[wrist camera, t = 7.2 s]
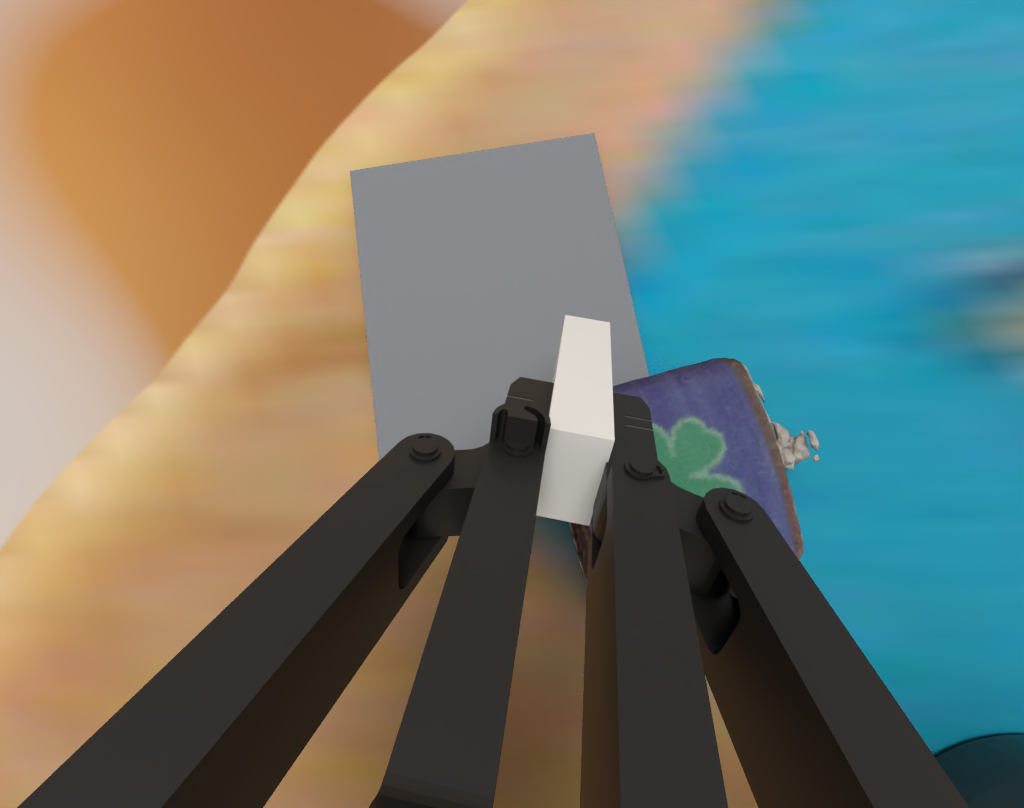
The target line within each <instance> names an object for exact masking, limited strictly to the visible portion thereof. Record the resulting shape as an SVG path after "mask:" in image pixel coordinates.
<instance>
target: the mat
mask: <svg viewBox="0 0 1024 808" xmlns="http://www.w3.org/2000/svg"><path fill="white" fill-rule="evenodd" d="M350 176H351V186H352V196H353V205H354V215H355V225H356V235H357V245H358V255H359V265H360V275H361V284H362V294H363V304H364V314H365V324H366V334H367V344H368V354H369V363H370V373H371V383H372V393H373V403H374V413H375V423H376V433H377V442H378V452H379V461H380V460H381V459H382V458H383V457H384V456H385V455H386V454H387V453H388V452H389V451H390V450H391V449H392V448H393V447H394V446H395V445H396V444H397V443H399V442H400V441H401V440H403V439H404V438H406V437H407V436H410V435H414V434H417V433H432V434H436V435H440V436H442V437H444V438H446V439H448V440H449V441H450V442H451V443H452V445H453V446H454V450H467V449H475V448H478V447H482V446H484V445H486V444H487V443H489V440H490V431H491V423H492V414H493V412H494V411H495V409H496V408H497V407H499V406H500V405H502V404H504V403H505V401H506V398H507V394H508V391H509V388H510V385H511V384H512V383H513V382H514V381H516V380H517V379H518V378H519V377H524V378H530V379H535V380H541V381H546V382H553V377H554V371H555V366H556V361H557V356H558V350H559V345H560V340H561V335H562V330H563V324H564V319H565V315H569V316H575V317H581V318H587V319H593V320H599V321H604V322H610V336H611V361H612V386H616V385H619V384H622V383H625V382H629V381H632V380H635V379H640V378H644V377H649V373H648V369H647V364H646V360H645V355H644V351H643V347H642V342H641V338H640V333H639V329H638V324H637V320H636V316H635V311H634V307H633V302H632V298H631V293H630V289H629V285H628V280H627V276H626V271H625V267H624V262H623V258H622V254H621V249H620V245H619V240H618V236H617V232H616V227H615V223H614V218H613V214H612V209H611V205H610V201H609V196H608V192H607V187H606V183H605V178H604V174H603V170H602V165H601V161H600V156H599V152H598V147H597V143H596V139H595V134H594V133H591V134H585V135H579V136H572V137H566V138H559V139H553V140H546V141H540V142H534V143H527V144H521V145H514V146H508V147H501V148H495V149H489V150H482V151H476V152H469V153H463V154H456V155H450V156H444V157H437V158H431V159H424V160H418V161H411V162H405V163H399V164H392V165H386V166H379V167H373V168H367V169H360V170H354V171H350Z"/></svg>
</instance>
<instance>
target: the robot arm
mask: <svg viewBox="0 0 1024 808" xmlns="http://www.w3.org/2000/svg"><path fill="white" fill-rule="evenodd" d="M651 420H652V419H651V413H650V408H649V407H648V406H647V404H646V403H645V402H644V400H643V399H642V398H641V397H636V396H631V395H625V394H620V393H614V392H613V386H612V361H611V336H610V322H604V321H599V320H593V319H587V318H581V317H575V316H569V315H565V319H564V324H563V330H562V335H561V340H560V345H559V350H558V356H557V361H556V366H555V371H554V377H553V382H546V381H541V380H535V379H530V378H524V377H519V378H518V379H517V380H516V381H514V382H513V383H512V384H511V385H510V388H509V391H508V394H507V398H506V401H505V403H504V404H502V405H500V406H499V407H497V408H496V409H495V411H494V412H493V414H492V423H491V431H490V440H489V443H487V444H486V445H484V446H482V447H478V448H475V449H467V450H454V446H453V445H452V443H451V442H450V441H449V440H448V439H446V438H444V437H442V436H440V435H436V434H432V433H417V434H414V435H410V436H407V437H406V438H404V439H403V440H401V441H400V442H399V443H397V444H396V445H395V446H394V447H393V448H392V449H391V450H390V451H389V452H388V453H387V454H386V455H385V456H384V457H383V458H382V459H381V460H380V461H379V462H378V463H377V464H376V465H375V466H373V467H372V468H371V469H370V470H369V471H368V472H367V473H366V474H365V475H364V476H363V477H362V478H361V479H360V480H359V481H358V482H357V483H356V484H355V485H354V486H353V487H352V488H350V489H349V490H348V491H347V492H346V493H345V494H344V495H343V496H342V497H341V498H340V499H339V500H338V501H337V502H336V503H335V504H334V505H333V506H332V507H331V508H330V509H329V510H328V511H326V512H325V513H324V514H323V515H322V516H321V517H320V518H319V519H318V520H317V521H316V522H315V523H314V524H313V525H312V526H311V527H310V528H309V529H308V530H307V531H306V532H305V533H304V534H302V535H301V536H300V537H299V538H298V539H297V540H296V541H295V542H294V543H293V544H292V545H291V546H290V547H289V548H288V549H287V550H286V551H285V552H284V553H283V554H282V555H281V556H279V557H278V558H277V559H276V560H275V561H274V562H273V563H272V564H271V565H270V566H269V567H268V568H267V569H266V570H265V571H264V572H263V573H262V574H261V575H260V576H259V577H258V578H257V579H255V580H254V581H253V582H252V583H251V584H250V585H249V586H248V587H247V588H246V589H245V590H244V591H243V592H242V593H241V594H240V595H239V596H238V597H237V598H236V599H235V600H234V601H232V602H231V603H230V604H229V605H228V606H227V607H226V608H225V609H224V610H223V611H222V612H221V613H220V614H219V615H218V616H217V617H216V618H215V619H214V620H213V621H212V622H211V623H210V624H208V625H207V626H206V627H205V628H204V629H203V630H202V631H201V632H200V633H199V634H198V635H197V636H196V637H195V638H194V639H193V640H192V641H191V642H190V643H189V644H188V645H187V646H186V647H184V648H183V649H182V650H181V651H180V652H179V653H178V654H177V655H176V656H175V657H174V658H173V659H172V660H171V661H170V662H169V663H168V664H167V665H166V666H165V667H164V668H163V669H161V670H160V671H159V672H158V673H157V674H156V675H155V676H154V677H153V678H152V679H151V680H150V681H149V682H148V683H147V684H146V685H145V686H144V687H143V688H142V689H141V690H140V691H139V692H137V693H136V694H135V695H134V696H133V697H132V698H131V699H130V700H129V701H128V702H127V703H126V704H125V705H124V706H123V707H122V708H121V709H120V710H119V711H118V712H117V713H116V714H115V715H113V716H112V717H111V718H110V719H109V720H108V721H107V722H106V723H105V724H104V725H103V726H102V727H101V728H100V729H99V730H98V731H97V732H96V733H95V734H94V735H93V736H92V737H90V738H89V739H88V740H87V741H86V742H85V743H84V744H83V745H82V746H81V747H80V748H79V749H78V750H77V751H76V752H75V753H74V754H73V755H72V756H71V757H70V758H69V759H68V760H66V761H65V762H64V763H63V764H62V765H61V766H60V767H59V768H58V769H57V770H56V771H55V772H54V773H53V774H52V775H51V776H50V777H49V778H48V779H47V780H46V781H45V782H44V783H42V784H41V785H40V786H39V787H38V788H37V789H36V790H35V791H34V792H33V793H32V794H31V795H30V796H29V797H28V798H27V799H26V800H25V801H24V802H23V803H22V804H21V805H19V806H18V807H17V808H263V807H264V805H265V804H266V802H267V801H268V799H269V798H270V797H271V795H272V794H273V792H274V791H275V789H276V788H277V786H278V785H279V783H280V782H281V781H282V779H283V778H284V776H285V775H286V773H287V772H288V770H289V769H290V768H291V766H292V765H293V763H294V762H295V760H296V759H297V757H298V756H299V755H300V753H301V752H302V750H303V749H304V747H305V746H306V744H307V743H308V742H309V740H310V739H311V737H312V736H313V734H314V733H315V731H316V730H317V728H318V727H319V726H320V724H321V723H322V721H323V720H324V718H325V717H326V715H327V714H328V713H329V711H330V710H331V708H332V707H333V705H334V704H335V702H336V701H337V700H338V698H339V697H340V695H341V694H342V692H343V691H344V689H345V688H346V687H347V685H348V684H349V682H350V681H351V679H352V678H353V676H354V675H355V674H356V672H357V671H358V669H359V668H360V666H361V665H362V663H363V662H364V660H365V659H366V658H367V656H368V655H369V653H370V652H371V650H372V649H373V647H374V646H375V645H376V643H377V642H378V640H379V639H380V637H381V636H382V634H383V633H384V632H385V630H386V629H387V627H388V626H389V624H390V623H391V621H392V620H393V619H394V617H395V616H396V614H397V613H398V611H399V610H400V608H401V607H402V606H403V604H404V603H405V601H406V600H407V598H408V597H409V595H410V594H411V592H412V591H413V590H414V588H415V587H416V585H417V584H418V582H419V581H420V579H421V578H422V577H423V575H424V574H425V572H426V571H427V569H428V568H429V566H430V565H431V564H432V562H433V561H434V559H435V558H436V556H437V555H438V553H439V552H440V551H441V549H442V548H443V546H444V545H445V543H446V542H447V539H448V537H449V536H459V535H460V537H459V540H458V543H457V547H456V550H455V553H454V556H453V559H452V563H451V566H450V569H449V572H448V575H447V579H446V582H445V585H444V588H443V591H442V595H441V598H440V601H439V604H438V607H437V611H436V614H435V617H434V620H433V623H432V627H431V630H430V633H429V636H428V639H427V642H426V646H425V649H424V652H423V655H422V658H421V662H420V665H419V668H418V671H417V674H416V678H415V681H414V684H413V687H412V690H411V694H410V697H409V700H408V703H407V706H406V710H405V713H404V716H403V719H402V722H401V726H400V729H399V732H398V735H397V738H396V741H395V745H394V748H393V751H392V754H391V757H390V761H389V764H388V767H387V770H386V773H385V776H384V779H383V782H382V785H381V787H380V790H379V792H378V794H377V796H376V797H375V799H374V800H373V802H372V803H371V805H370V806H369V808H493V802H494V795H495V788H496V782H497V775H498V768H499V761H500V755H501V748H502V741H503V735H504V728H505V721H506V714H507V708H508V701H509V694H510V687H511V681H512V674H513V667H514V660H515V654H516V647H517V640H518V634H519V627H520V620H521V613H522V607H523V600H524V593H525V586H526V580H527V573H528V566H529V559H530V553H531V546H532V539H533V533H534V526H535V519H536V515H537V516H542V517H547V518H552V519H557V520H562V521H567V522H572V523H577V524H582V525H587V526H589V525H590V522H591V518H592V515H593V528H592V532H591V535H590V538H589V541H588V545H587V548H586V551H585V555H584V558H583V561H582V563H585V564H587V561H588V566H587V598H586V630H585V663H584V695H583V727H582V759H581V791H580V808H728V804H727V799H726V793H725V787H724V782H723V776H722V770H721V765H720V759H719V753H718V747H717V742H716V736H715V730H714V725H713V719H712V713H711V708H710V702H709V696H708V691H707V685H706V679H705V676H706V678H707V681H708V683H709V686H710V688H711V691H712V693H713V695H714V698H715V700H716V703H717V705H718V708H719V710H720V713H721V715H722V718H723V720H724V723H725V725H726V728H727V730H728V733H729V735H730V738H731V740H732V743H733V745H734V748H735V750H736V753H737V755H738V758H739V760H740V763H741V765H742V768H743V770H744V773H745V775H746V778H747V780H748V782H749V785H750V787H751V790H752V792H753V795H754V797H755V800H756V802H757V805H758V807H759V808H1024V735H1023V734H1014V735H999V736H991V737H986V738H982V739H977V740H974V741H971V742H967V743H964V744H962V745H959V746H957V747H954V748H952V749H950V750H948V751H946V752H944V753H942V754H941V755H939V756H937V757H936V758H935V757H934V755H933V754H932V753H931V751H930V750H929V748H928V747H927V745H926V744H925V742H924V741H923V739H922V738H921V737H920V735H919V734H918V732H917V731H916V729H915V728H914V726H913V725H912V724H911V722H910V721H909V719H908V718H907V716H906V715H905V713H904V712H903V710H902V709H901V708H900V706H899V705H898V703H897V702H896V700H895V699H894V697H893V696H892V694H891V693H890V692H889V690H888V689H887V687H886V686H885V684H884V683H883V681H882V680H881V679H880V677H879V676H878V674H877V673H876V671H875V670H874V668H873V667H872V665H871V664H870V663H869V661H868V660H867V658H866V657H865V655H864V654H863V652H862V651H861V649H860V648H859V647H858V645H857V644H856V642H855V641H854V639H853V638H852V636H851V635H850V634H849V632H848V631H847V629H846V628H845V626H844V625H843V623H842V622H841V620H840V619H839V618H838V616H837V615H836V613H835V612H834V610H833V609H832V607H831V606H830V605H829V603H828V602H827V600H826V599H825V597H824V596H823V594H822V593H821V591H820V590H819V589H818V587H817V586H816V584H815V583H814V581H813V580H812V578H811V577H810V575H809V574H808V573H807V571H806V570H805V568H804V567H803V565H802V564H801V562H800V561H799V560H798V558H797V557H796V555H795V554H794V552H793V551H792V549H791V548H790V546H789V545H788V544H787V542H786V541H785V539H784V538H783V536H782V535H781V533H780V532H779V530H778V529H777V528H776V526H775V525H774V523H773V522H772V520H771V519H770V517H769V516H768V515H767V513H766V512H765V510H764V509H763V508H762V507H761V506H760V505H759V504H758V503H757V502H756V501H755V500H754V499H752V498H751V497H749V496H748V495H746V494H744V493H742V492H739V491H737V490H734V489H729V488H723V487H722V488H714V489H711V490H710V491H708V492H707V493H706V494H705V497H704V498H703V497H701V496H699V495H696V494H694V493H691V492H689V491H687V490H685V489H683V488H681V487H679V486H677V485H675V484H674V483H673V482H671V480H670V475H669V473H668V471H667V469H666V468H665V467H664V466H663V465H662V464H661V463H660V462H659V461H658V458H657V451H656V445H655V439H654V432H653V426H652V422H651ZM704 673H705V674H704Z"/></svg>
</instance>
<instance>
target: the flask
mask: <svg viewBox="0 0 1024 808" xmlns="http://www.w3.org/2000/svg"><path fill="white" fill-rule="evenodd" d="M613 392H614V393H620V394H625V395H631V396H636V397H641V398H642V399H643V400H644V402H645V403H646V404H647V406H648V407H649V408H650V413H651V419H652V420H651V422H652V426H653V432H654V439H655V445H656V451H657V458H658V461H659V462H660V463H661V464H662V465H663V466H664V467H665V468H666V469H667V471H668V473H669V475H670V480H671V482H673V483H674V484H675V485H677V486H679V487H681V488H683V489H685V490H687V491H689V492H691V493H694V494H696V495H699V496H701V497H703V498H704V497H705V494H706V493H707V492H708V491H710V490H711V489H714V488H722V487H723V488H729V489H734V490H737V491H739V492H742V493H744V494H746V495H748V496H749V497H751V498H752V499H754V500H755V501H756V502H757V503H758V504H759V505H760V506H761V507H762V508H763V509H764V510H765V512H766V513H767V515H768V516H769V517H770V519H771V520H772V522H773V523H774V525H775V526H776V528H777V529H778V530H779V532H780V533H781V535H782V536H783V538H784V539H785V541H786V542H787V544H788V545H789V546H790V548H791V549H792V551H793V552H794V554H795V555H796V557H797V558H798V560H799V559H800V557H801V555H802V554H803V552H804V542H803V538H802V534H801V529H800V525H799V521H798V517H797V513H796V508H795V504H794V500H793V495H792V491H791V488H790V485H789V482H788V478H787V474H786V470H785V468H790V469H792V470H793V469H794V463H795V464H799V462H801V461H803V460H804V459H807V458H809V457H810V453H809V448H808V445H807V444H806V437H805V434H804V433H803V432H802V431H801V433H800V435H799V436H797V437H792V436H789V433H788V430H787V429H785V428H783V427H782V426H781V425H779V424H778V423H776V422H772V421H770V418H769V416H768V414H767V412H766V410H765V409H764V406H763V404H762V402H761V400H760V398H759V396H760V397H761V399H762V400H763V402H765V400H764V397H763V393H762V391H761V389H760V387H759V385H757V384H754V383H753V380H752V378H751V376H750V374H749V371H748V369H747V367H746V366H745V365H744V364H743V363H741V362H739V361H737V360H735V359H728V358H715V359H710V360H708V361H704V362H701V363H697V364H693V365H689V366H684V367H680V368H677V369H673V370H669V371H666V372H663V373H660V374H657V375H653V376H649V377H644V378H640V379H635V380H632V381H629V382H625V383H622V384H619V385H616V386H613ZM807 435H808V436H809V439H810V445H811V447H812V448H814V449H815V450H818V448H819V442H818V440H817V438H816V436H815V434H814V432H813V431H810V430H809V431H807ZM813 460H814V461H815V462H816V461H818V460H820V459H819V457H818V455H814V456H813ZM568 523H569V526H570V530H571V533H572V536H573V537H572V538H573V540H574V543H575V546H576V550H577V553H578V555H579V557H582V561H583V558H584V555H585V551H586V548H587V545H588V541H589V538H590V535H591V532H592V528H593V515H592V518H591V522H590V525H589V526H587V525H582V524H577V523H572V522H568ZM582 561H579V564H580V566H581V568H582V571H583V573H582V574H583V575H584V578H585V581H586V584H587V566H588V561H587V564H585V563H582Z"/></svg>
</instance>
